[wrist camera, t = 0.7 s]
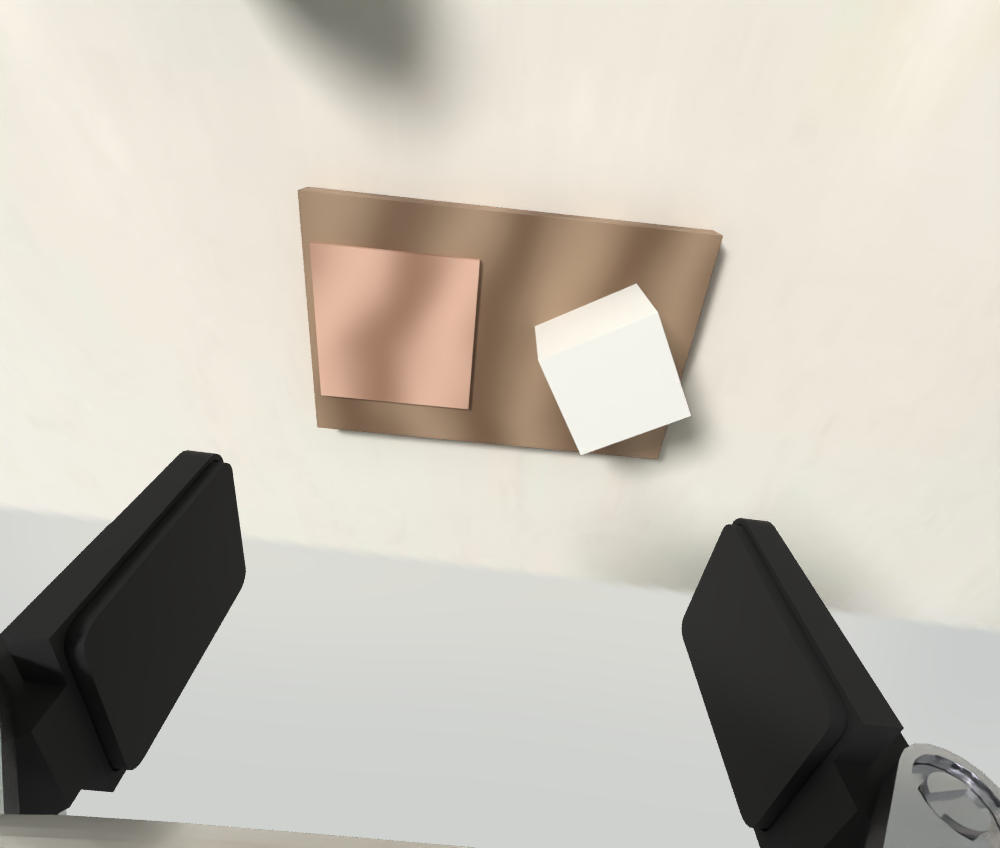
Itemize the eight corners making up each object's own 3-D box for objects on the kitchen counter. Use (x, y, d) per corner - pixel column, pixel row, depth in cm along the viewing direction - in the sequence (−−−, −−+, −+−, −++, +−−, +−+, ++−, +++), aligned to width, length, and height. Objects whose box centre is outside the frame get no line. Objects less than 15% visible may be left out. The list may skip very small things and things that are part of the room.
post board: (713, 230, 29) (750, 251, 25) (652, 446, 36) (672, 495, 32) (307, 186, 29) (268, 200, 24) (324, 415, 36) (296, 460, 31)
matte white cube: (636, 283, 29) (658, 312, 25) (666, 375, 32) (691, 416, 28) (534, 326, 31) (538, 360, 26) (571, 411, 33) (580, 455, 29)
